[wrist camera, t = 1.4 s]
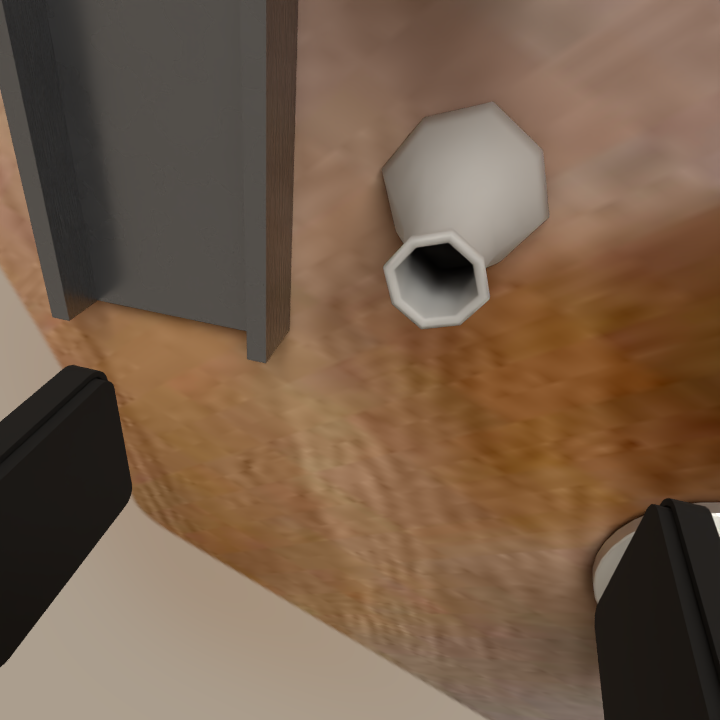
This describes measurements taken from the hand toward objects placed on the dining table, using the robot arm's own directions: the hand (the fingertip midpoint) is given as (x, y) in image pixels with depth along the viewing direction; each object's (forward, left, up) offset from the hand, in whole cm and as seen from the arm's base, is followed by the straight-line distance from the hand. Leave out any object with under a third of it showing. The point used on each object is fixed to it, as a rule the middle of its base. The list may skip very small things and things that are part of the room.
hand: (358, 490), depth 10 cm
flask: (0, 0, -20) cm, 20 cm away
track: (+1, +14, -19) cm, 24 cm away
